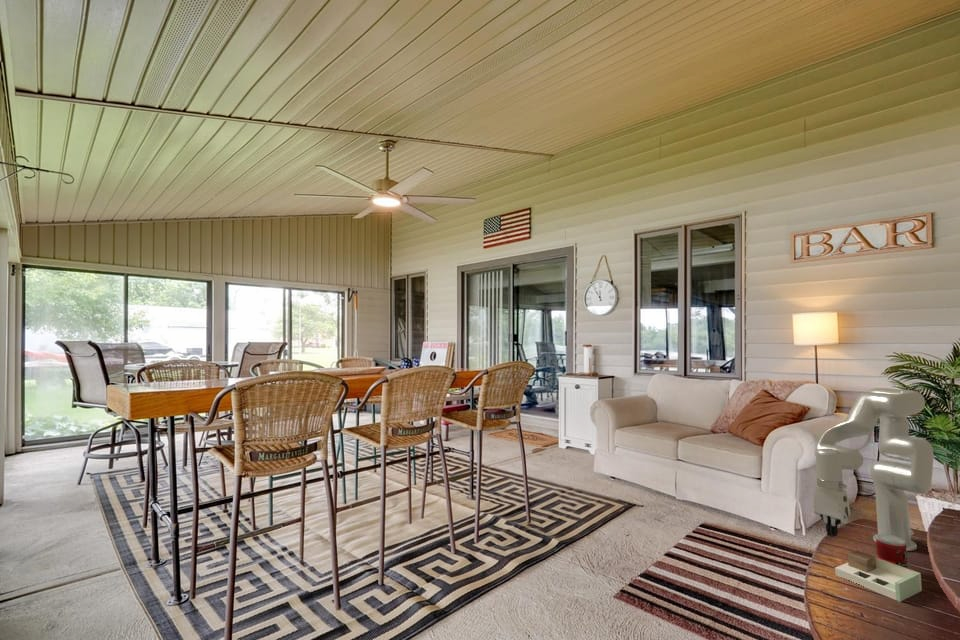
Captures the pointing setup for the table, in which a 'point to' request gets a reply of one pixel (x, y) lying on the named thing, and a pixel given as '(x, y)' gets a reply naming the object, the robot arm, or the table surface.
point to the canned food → (891, 549)
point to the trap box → (884, 579)
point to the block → (861, 561)
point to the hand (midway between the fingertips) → (832, 535)
